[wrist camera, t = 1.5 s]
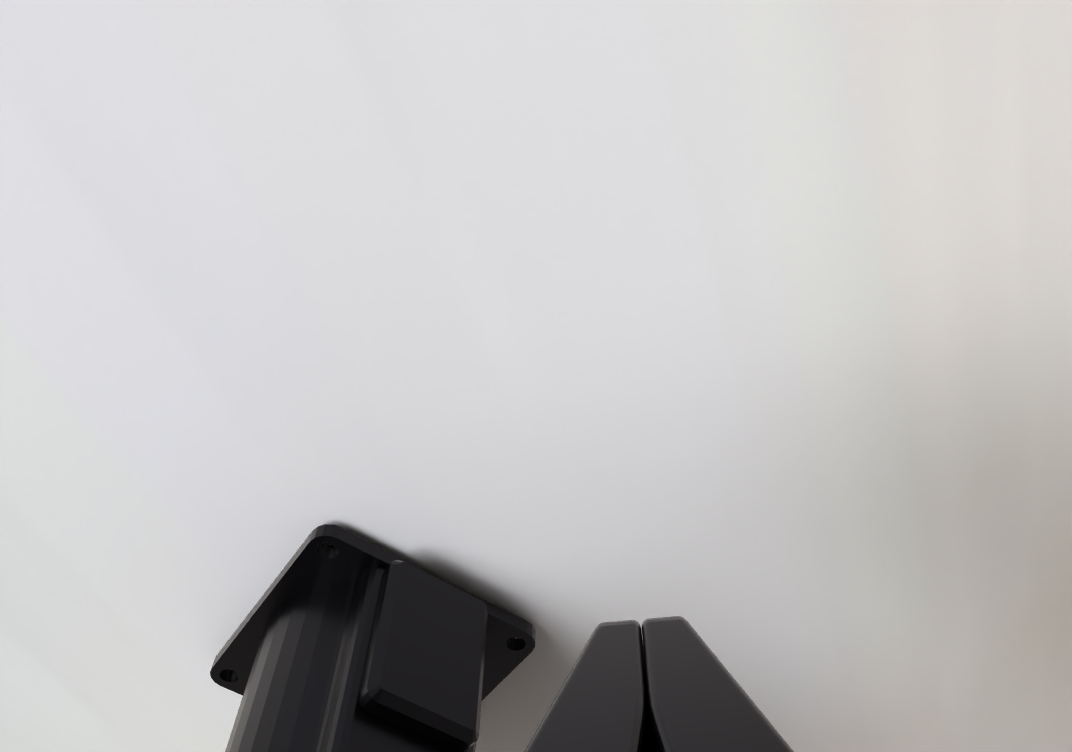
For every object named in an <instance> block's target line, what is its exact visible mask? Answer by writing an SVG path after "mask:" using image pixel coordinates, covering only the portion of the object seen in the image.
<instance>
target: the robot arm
mask: <svg viewBox="0 0 1072 752" xmlns="http://www.w3.org/2000/svg"><path fill="white" fill-rule="evenodd" d="M324 543H329V544H333V545H334V546H336V547H332V548H331V547H327V546H325V545H324ZM642 636H643V641H642ZM511 637H519V639H514V638H511ZM534 647H535V629H534V627H533V625H532V624H530V623H529V622H528V621H526V620H524V619H522V618H520V617H518V616H516V615H514V614H512V613H510V612H508V611H506V610H504V609H502V608H500V607H498V606H496V605H494V604H492V603H490V602H488V601H486V600H484V599H482V598H480V597H478V596H476V595H474V594H472V593H470V592H468V591H466V590H465V589H463V588H461V587H459V586H457V585H455V584H453V583H451V582H449V581H447V580H445V579H443V578H441V577H439V576H437V575H435V574H433V573H431V572H429V571H427V570H425V569H423V568H421V567H419V566H417V565H415V564H413V563H411V562H409V561H407V560H405V559H403V558H401V557H399V556H397V555H395V554H393V553H391V552H389V551H387V550H385V549H383V548H381V547H379V546H377V545H375V544H373V543H371V542H369V541H367V540H365V539H363V538H361V537H359V536H357V535H355V534H353V533H351V532H349V531H347V530H345V529H343V528H341V527H339V526H336V525H322V526H318V527H317V528H316V529H314V530H313V531H312V532H311V534H310V535H309V536H308V538H307V539H306V540H305V542H304V543H303V544H302V545H301V547H300V548H299V549H298V551H297V552H296V553H295V555H294V556H293V557H292V558H291V560H290V561H289V562H288V564H287V565H286V566H285V568H284V569H283V570H282V571H281V573H280V574H279V575H278V577H277V578H276V579H275V581H274V582H273V583H272V584H271V586H270V587H269V588H268V590H267V591H266V592H265V594H264V595H263V596H262V597H261V599H260V600H259V601H258V603H257V604H256V605H255V607H254V608H253V609H252V610H251V612H250V613H249V614H248V616H247V617H246V618H245V620H244V621H243V622H242V623H241V625H240V626H239V627H238V629H237V630H236V631H235V633H234V634H233V635H232V636H231V638H230V639H229V640H228V642H227V643H226V644H225V646H224V647H223V648H222V649H221V651H220V652H219V653H218V655H217V656H216V658H215V661H214V663H213V666H212V669H211V672H210V675H211V678H212V679H213V681H214V682H215V683H217V684H218V685H220V686H222V687H224V688H227V689H229V690H231V691H234V692H236V693H238V694H241V695H243V698H242V701H241V704H240V707H239V710H238V714H237V717H236V720H235V723H234V726H233V729H232V732H231V736H230V739H229V742H228V745H227V748H226V751H225V752H475V746H476V741H477V739H478V736H479V725H480V712H481V701H482V700H483V699H484V698H485V697H486V696H487V695H488V694H489V693H490V692H491V691H492V690H493V689H494V688H495V687H496V686H497V685H498V684H499V683H500V682H501V681H502V680H503V679H504V678H505V677H506V676H507V675H508V674H509V673H510V672H511V671H512V670H514V669H515V668H516V667H517V666H518V665H519V664H520V663H521V662H522V661H523V660H524V659H525V658H526V657H527V656H528V655H529V654H530V653H531V652H532V650H533V649H534ZM229 669H230V670H229ZM525 752H794V751H793V750H792V749H791V748H790V746H789V745H788V744H787V743H786V742H785V740H784V739H783V738H782V737H781V735H780V734H779V733H778V732H777V731H776V729H775V728H774V727H773V726H772V724H771V723H770V722H769V721H768V720H767V718H766V717H765V716H764V715H763V713H762V712H761V711H760V710H759V709H758V707H757V706H756V705H755V704H754V702H753V701H752V700H751V699H750V698H749V696H748V695H747V694H746V693H745V691H744V690H743V689H742V688H741V687H740V685H739V684H738V683H737V682H736V680H735V679H734V678H733V677H732V675H731V674H730V673H729V672H728V671H727V669H726V668H725V667H724V666H723V664H722V663H721V662H720V661H719V660H718V658H717V657H716V656H715V655H714V653H713V652H712V651H711V650H710V649H709V647H708V646H707V645H706V644H705V642H704V641H703V640H702V639H701V638H700V636H699V635H698V634H697V633H696V631H695V630H694V629H693V628H692V627H691V625H690V624H689V623H688V622H687V621H686V620H685V619H684V618H682V617H679V616H676V617H663V618H651V619H646V620H645V621H644V622H643V624H642V632H641V627H640V624H639V623H638V622H637V621H635V620H628V621H617V622H605V623H601V624H599V625H598V626H597V627H596V629H595V630H594V632H593V634H592V635H591V637H590V639H589V641H588V642H587V644H586V646H585V648H584V649H583V651H582V653H581V655H580V656H579V658H578V660H577V661H576V663H575V665H574V667H573V668H572V670H571V672H570V674H569V675H568V677H567V679H566V681H565V682H564V684H563V686H562V688H561V689H560V691H559V693H558V695H557V696H556V698H555V700H554V702H553V703H552V705H551V707H550V709H549V710H548V712H547V714H546V716H545V717H544V719H543V721H542V722H541V724H540V726H539V728H538V729H537V731H536V733H535V735H534V736H533V738H532V740H531V742H530V743H529V745H528V747H527V749H526V750H525Z"/></svg>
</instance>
